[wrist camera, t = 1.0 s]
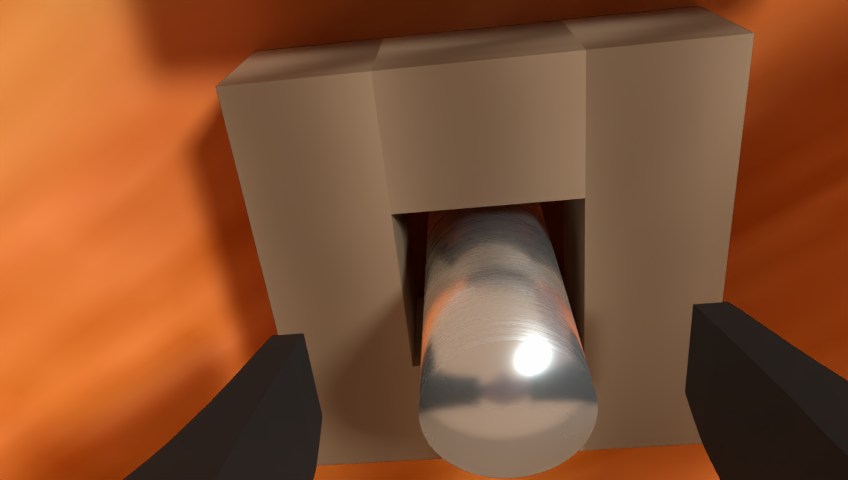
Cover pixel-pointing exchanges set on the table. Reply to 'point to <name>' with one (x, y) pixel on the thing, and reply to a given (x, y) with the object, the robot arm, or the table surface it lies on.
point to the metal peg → (500, 346)
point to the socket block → (495, 199)
